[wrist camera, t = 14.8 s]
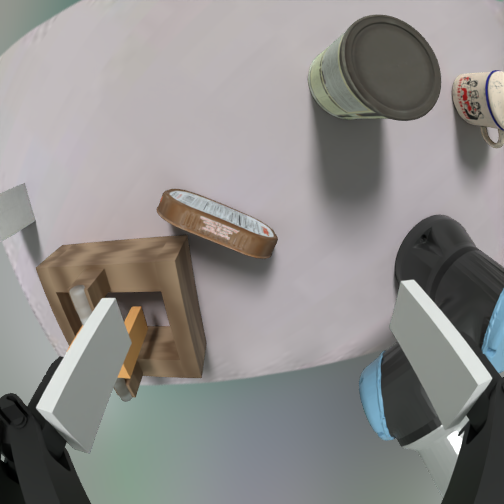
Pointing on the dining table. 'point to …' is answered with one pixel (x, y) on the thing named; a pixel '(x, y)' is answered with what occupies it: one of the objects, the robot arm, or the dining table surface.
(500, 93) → the teacup with lid
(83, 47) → the dining table surface
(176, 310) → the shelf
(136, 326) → the orange u-shaped bracket
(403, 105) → the coffee can
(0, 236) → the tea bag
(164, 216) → the tin
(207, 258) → the dining table surface
